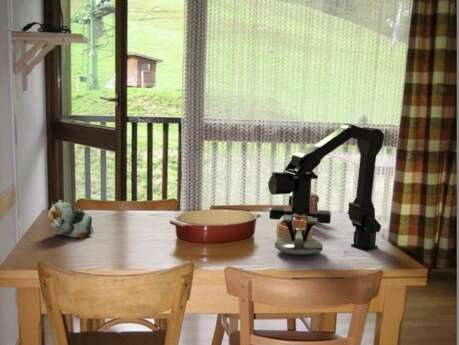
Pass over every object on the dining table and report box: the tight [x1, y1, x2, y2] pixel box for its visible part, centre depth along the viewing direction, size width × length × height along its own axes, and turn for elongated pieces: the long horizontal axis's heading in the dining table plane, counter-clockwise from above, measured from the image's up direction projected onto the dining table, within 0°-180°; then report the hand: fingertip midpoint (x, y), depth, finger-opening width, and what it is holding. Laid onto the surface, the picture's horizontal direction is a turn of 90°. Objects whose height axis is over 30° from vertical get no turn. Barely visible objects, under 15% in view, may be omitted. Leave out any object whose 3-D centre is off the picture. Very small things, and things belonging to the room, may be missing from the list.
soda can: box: [294, 192, 315, 227], centre depth 196 cm, size 7×7×13 cm
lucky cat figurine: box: [47, 199, 94, 240], centre depth 178 cm, size 15×12×14 cm
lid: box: [274, 228, 324, 256], centre depth 166 cm, size 15×15×6 cm
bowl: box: [275, 219, 314, 240], centre depth 183 cm, size 12×12×5 cm
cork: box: [313, 193, 320, 225], centre depth 205 cm, size 6×6×11 cm
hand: (298, 241), depth 166 cm, fingers closed on lid, 3 cm apart
